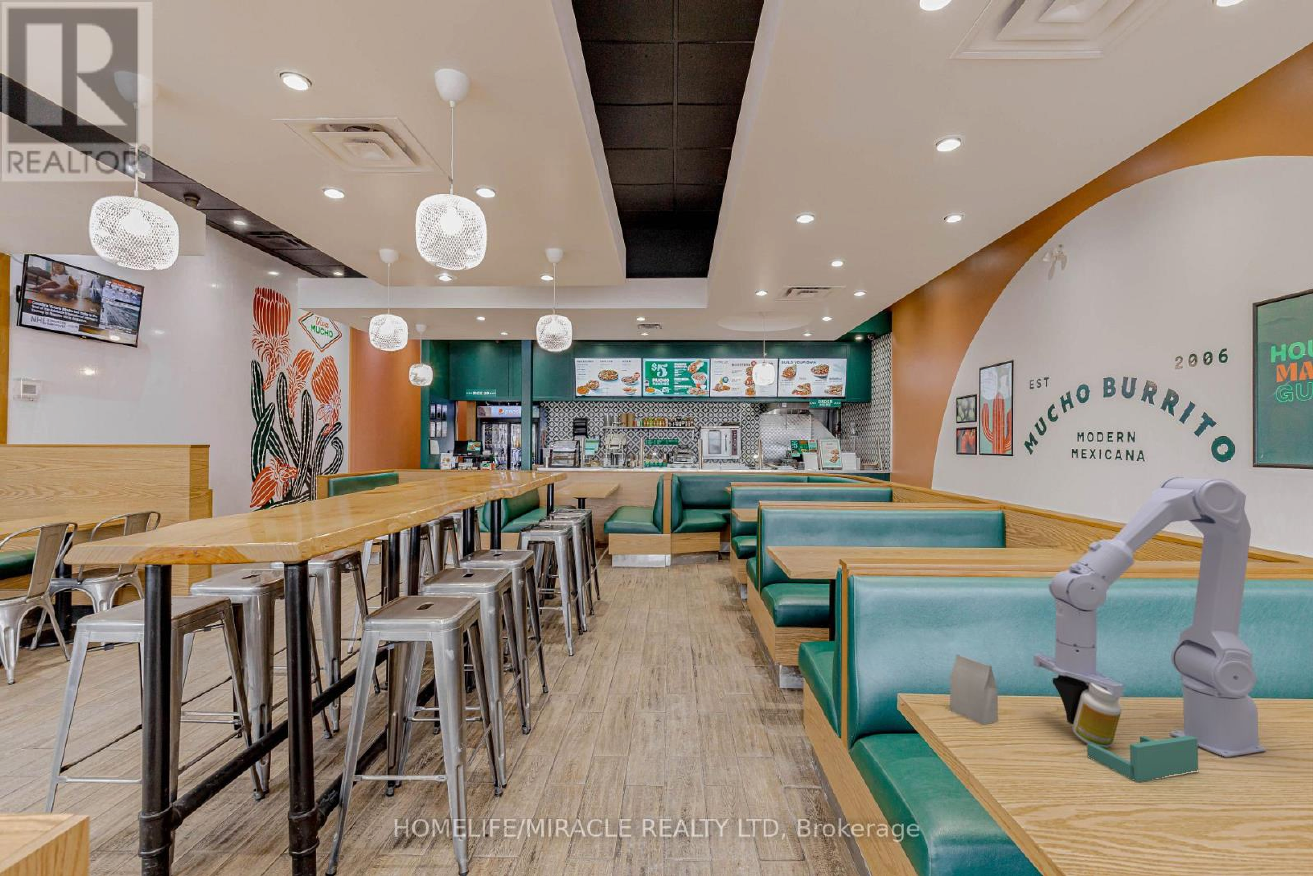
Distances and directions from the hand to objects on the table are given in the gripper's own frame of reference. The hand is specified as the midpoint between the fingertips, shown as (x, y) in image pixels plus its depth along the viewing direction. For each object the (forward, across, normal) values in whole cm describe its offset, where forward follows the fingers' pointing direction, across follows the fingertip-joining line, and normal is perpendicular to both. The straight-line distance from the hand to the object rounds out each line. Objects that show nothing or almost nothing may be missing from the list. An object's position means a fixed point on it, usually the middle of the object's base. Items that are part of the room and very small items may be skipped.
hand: (1074, 723), depth 98 cm
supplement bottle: (+1, +3, 0) cm, 3 cm away
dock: (+2, +10, +1) cm, 10 cm away
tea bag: (+2, -10, -12) cm, 15 cm away
